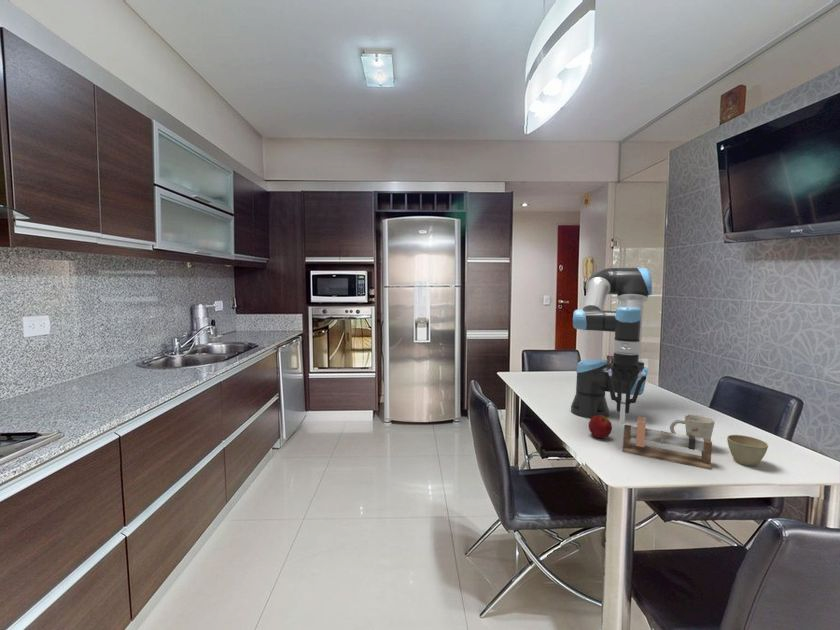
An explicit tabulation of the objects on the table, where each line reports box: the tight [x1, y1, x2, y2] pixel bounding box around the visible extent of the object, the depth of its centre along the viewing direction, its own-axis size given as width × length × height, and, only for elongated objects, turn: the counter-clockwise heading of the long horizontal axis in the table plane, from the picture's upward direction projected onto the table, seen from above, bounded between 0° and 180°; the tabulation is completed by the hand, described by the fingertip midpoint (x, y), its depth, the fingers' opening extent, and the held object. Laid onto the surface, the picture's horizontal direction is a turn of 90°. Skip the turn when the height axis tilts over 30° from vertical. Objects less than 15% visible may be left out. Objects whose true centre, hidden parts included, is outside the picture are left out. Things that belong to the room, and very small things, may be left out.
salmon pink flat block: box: [635, 415, 647, 447], centre depth 133 cm, size 2×7×8 cm, turn 150°
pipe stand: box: [621, 424, 713, 470], centre depth 129 cm, size 24×8×8 cm, turn 60°
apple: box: [588, 415, 613, 439], centre depth 145 cm, size 8×8×8 cm
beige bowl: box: [726, 434, 769, 467], centre depth 125 cm, size 10×10×7 cm
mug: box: [669, 414, 715, 440], centre depth 138 cm, size 8×13×10 cm, turn 58°
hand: (622, 421), depth 135 cm, fingers closed
